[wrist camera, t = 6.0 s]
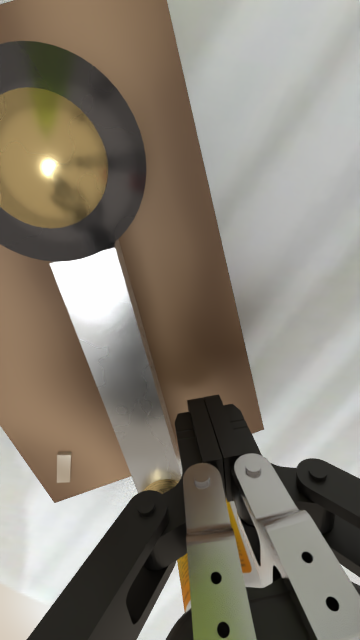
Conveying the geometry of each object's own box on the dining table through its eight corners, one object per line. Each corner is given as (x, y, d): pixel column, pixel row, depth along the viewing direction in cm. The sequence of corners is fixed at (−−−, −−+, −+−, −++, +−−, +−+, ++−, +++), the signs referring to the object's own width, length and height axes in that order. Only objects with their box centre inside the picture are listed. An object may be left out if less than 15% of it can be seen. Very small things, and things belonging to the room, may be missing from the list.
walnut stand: (151, -9, 12) (157, -46, 10) (251, 407, 21) (265, 432, 19) (-188, 92, 12) (-253, 73, 10) (60, 474, 21) (53, 506, 19)
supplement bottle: (155, 515, 24) (175, 715, 15) (195, 464, 22) (243, 650, 13) (213, 531, 25) (262, 717, 17) (254, 485, 24) (330, 661, 15)
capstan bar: (-26, 106, 11) (-129, 54, 6) (118, 77, 11) (115, 8, 7) (116, 458, 18) (114, 551, 14) (201, 434, 18) (227, 517, 14)
